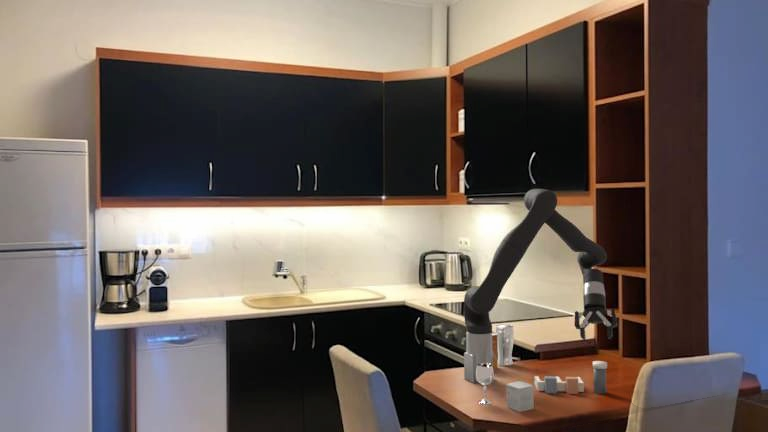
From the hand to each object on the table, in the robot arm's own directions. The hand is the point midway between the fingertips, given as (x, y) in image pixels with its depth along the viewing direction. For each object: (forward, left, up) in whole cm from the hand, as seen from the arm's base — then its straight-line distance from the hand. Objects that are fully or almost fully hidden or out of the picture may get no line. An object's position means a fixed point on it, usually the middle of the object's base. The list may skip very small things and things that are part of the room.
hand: (596, 338), depth 214 cm
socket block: (-16, +1, -16) cm, 22 cm away
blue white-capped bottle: (-6, -8, -16) cm, 19 cm away
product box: (-39, -9, -16) cm, 43 cm away
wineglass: (-46, 0, -16) cm, 49 cm away
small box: (-24, +34, -16) cm, 45 cm away
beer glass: (-14, +35, -16) cm, 41 cm away
